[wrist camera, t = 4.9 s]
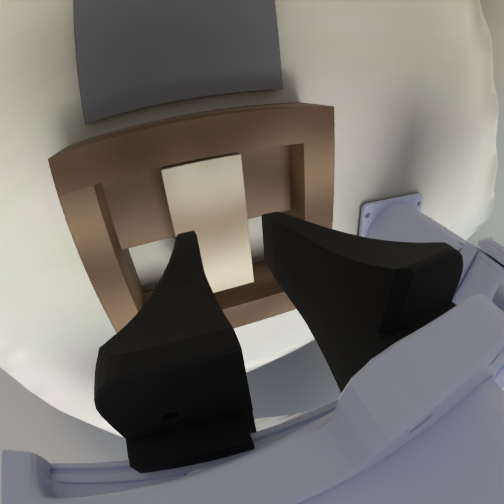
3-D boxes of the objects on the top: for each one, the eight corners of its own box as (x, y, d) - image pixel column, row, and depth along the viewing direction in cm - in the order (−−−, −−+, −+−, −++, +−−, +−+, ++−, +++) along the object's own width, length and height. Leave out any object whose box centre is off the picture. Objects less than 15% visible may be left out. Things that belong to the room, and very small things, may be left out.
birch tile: (244, 265, 20) (253, 281, 18) (187, 280, 19) (191, 298, 17) (230, 147, 16) (240, 154, 14) (159, 161, 15) (161, 170, 13)
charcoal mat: (278, 89, 16) (282, 89, 16) (87, 122, 14) (85, 123, 13) (264, -49, 11) (267, -53, 10) (76, -28, 8) (74, -32, 7)
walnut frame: (302, 270, 25) (326, 298, 21) (128, 317, 21) (129, 354, 18) (300, 102, 17) (333, 106, 14) (68, 145, 14) (47, 159, 11)
